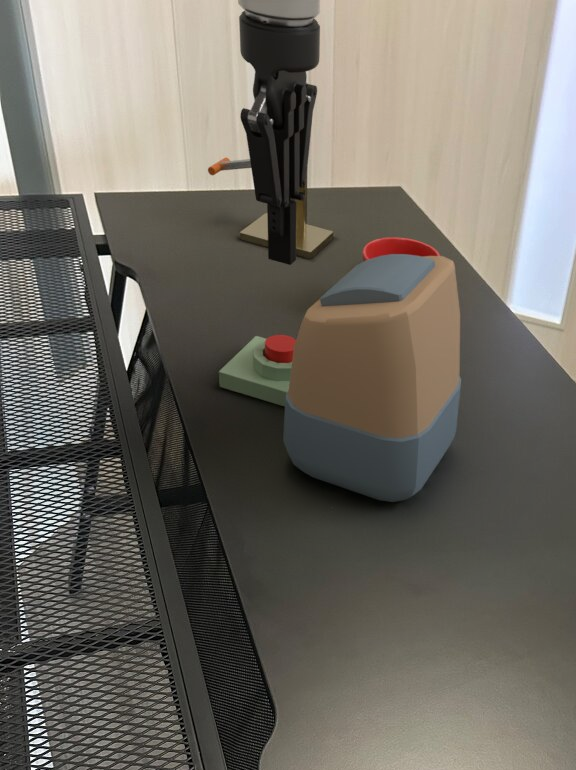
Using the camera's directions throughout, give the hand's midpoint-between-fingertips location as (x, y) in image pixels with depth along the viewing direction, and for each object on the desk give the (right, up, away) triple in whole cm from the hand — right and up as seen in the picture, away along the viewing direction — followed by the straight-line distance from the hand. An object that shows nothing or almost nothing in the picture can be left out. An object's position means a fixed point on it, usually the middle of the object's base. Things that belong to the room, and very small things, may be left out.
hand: (282, 259), depth 97 cm
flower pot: (+11, +2, +27) cm, 29 cm away
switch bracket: (-7, +19, +40) cm, 45 cm away
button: (-2, -9, +9) cm, 12 cm away
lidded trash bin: (+10, -23, +3) cm, 25 cm away
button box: (-2, -11, +11) cm, 16 cm away
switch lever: (-10, +27, +34) cm, 44 cm away
